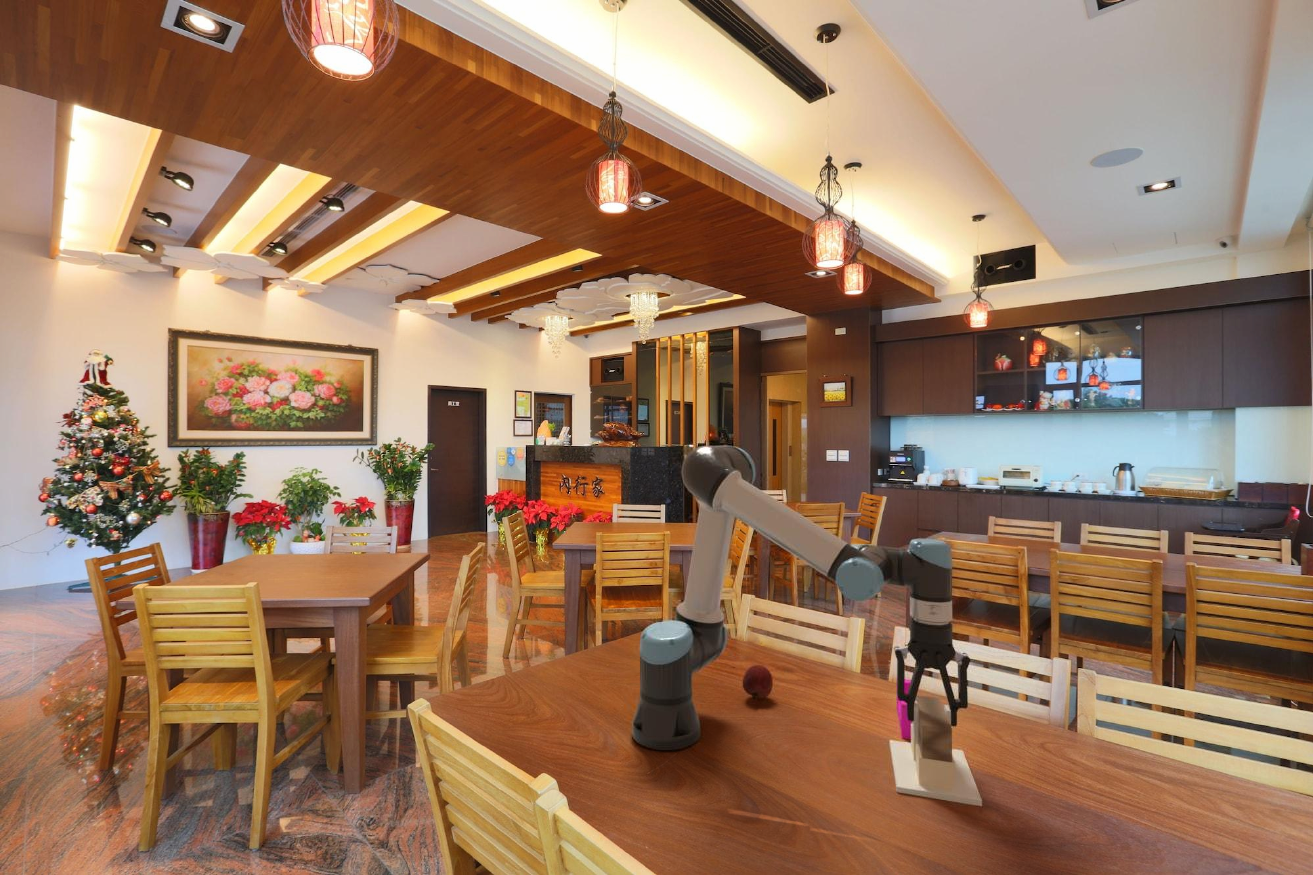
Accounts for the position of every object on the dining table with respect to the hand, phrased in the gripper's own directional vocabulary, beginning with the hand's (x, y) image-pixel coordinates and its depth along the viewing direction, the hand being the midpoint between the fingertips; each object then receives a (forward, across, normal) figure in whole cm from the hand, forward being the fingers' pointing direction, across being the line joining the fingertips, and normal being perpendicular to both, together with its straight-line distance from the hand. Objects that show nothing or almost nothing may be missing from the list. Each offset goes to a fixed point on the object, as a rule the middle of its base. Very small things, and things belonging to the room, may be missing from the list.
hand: (931, 739), depth 115 cm
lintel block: (0, 0, 0) cm, 0 cm away
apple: (+7, -37, +24) cm, 45 cm away
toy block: (+7, -1, +20) cm, 22 cm away
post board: (+6, 0, 0) cm, 6 cm away
